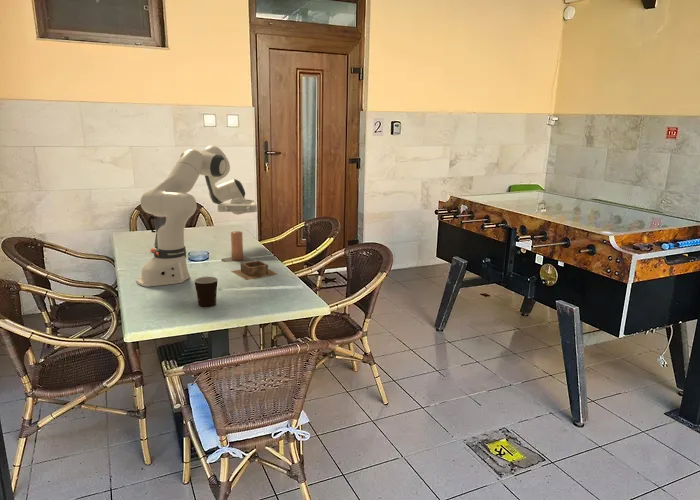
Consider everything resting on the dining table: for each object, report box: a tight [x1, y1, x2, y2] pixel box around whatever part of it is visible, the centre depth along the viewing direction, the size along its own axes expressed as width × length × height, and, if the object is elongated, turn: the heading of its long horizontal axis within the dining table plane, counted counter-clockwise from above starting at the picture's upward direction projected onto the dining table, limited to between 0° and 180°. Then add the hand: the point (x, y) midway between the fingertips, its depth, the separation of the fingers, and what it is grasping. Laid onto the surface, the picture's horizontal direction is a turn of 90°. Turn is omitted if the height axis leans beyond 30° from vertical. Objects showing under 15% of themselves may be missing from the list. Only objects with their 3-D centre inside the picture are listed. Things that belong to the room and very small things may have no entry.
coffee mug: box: [194, 276, 218, 309], centre depth 204 cm, size 12×9×10 cm
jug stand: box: [230, 260, 278, 281], centre depth 242 cm, size 16×16×5 cm
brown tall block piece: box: [230, 230, 244, 262], centre depth 262 cm, size 8×6×14 cm
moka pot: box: [147, 215, 166, 248], centre depth 288 cm, size 10×15×20 cm, turn 147°
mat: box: [221, 255, 255, 263], centre depth 265 cm, size 12×12×1 cm
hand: (236, 210), depth 270 cm, fingers open, 8 cm apart
